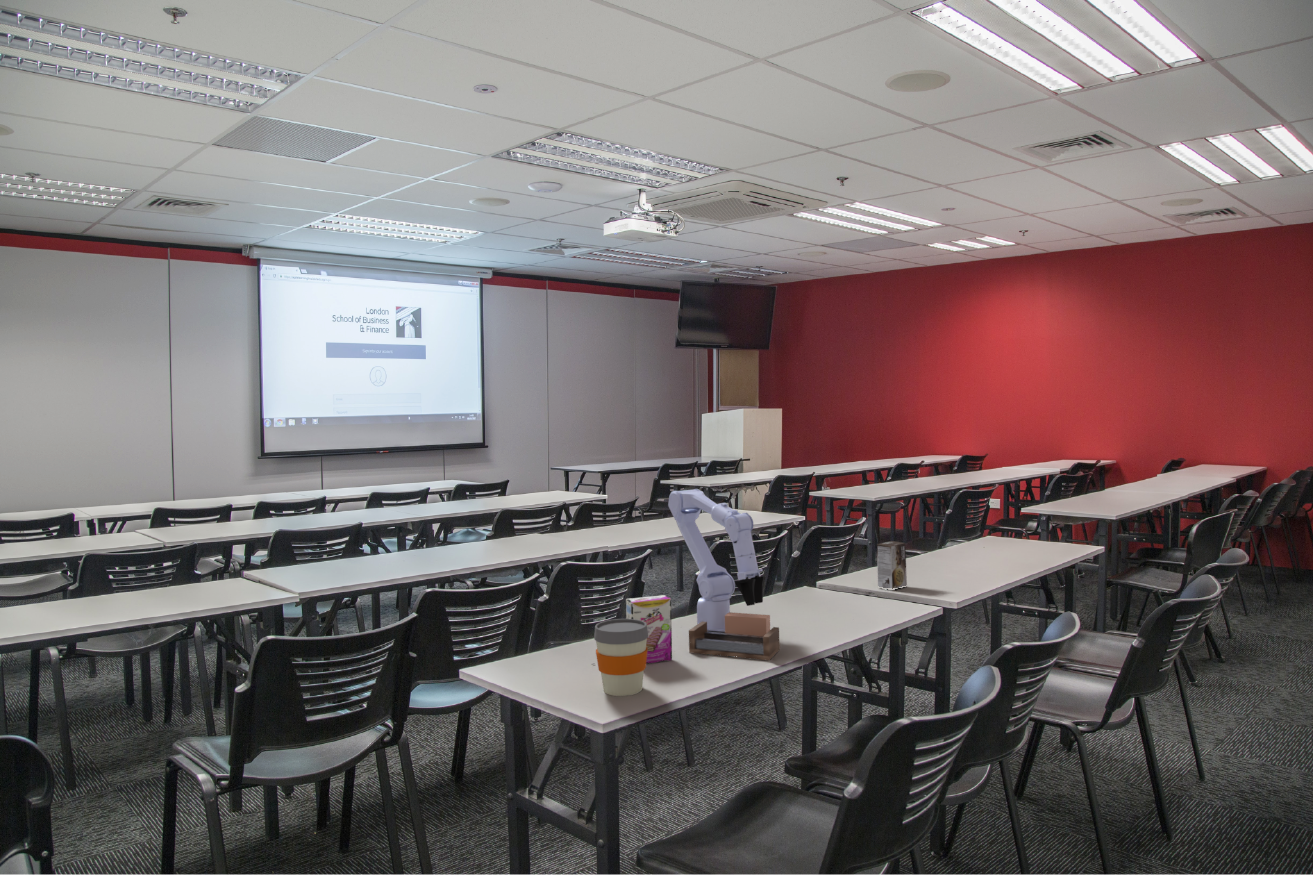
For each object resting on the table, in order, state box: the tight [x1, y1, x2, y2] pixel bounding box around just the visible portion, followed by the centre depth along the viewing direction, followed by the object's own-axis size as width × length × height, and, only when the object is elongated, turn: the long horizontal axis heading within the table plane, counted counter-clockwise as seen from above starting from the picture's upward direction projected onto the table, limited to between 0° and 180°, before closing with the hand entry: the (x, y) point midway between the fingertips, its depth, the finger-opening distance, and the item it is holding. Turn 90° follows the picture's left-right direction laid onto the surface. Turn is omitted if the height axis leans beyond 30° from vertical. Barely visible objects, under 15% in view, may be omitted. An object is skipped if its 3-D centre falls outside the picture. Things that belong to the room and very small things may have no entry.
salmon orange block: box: [724, 611, 771, 636], centre depth 223 cm, size 12×4×7 cm, turn 67°
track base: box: [688, 621, 781, 661], centre depth 212 cm, size 22×10×6 cm, turn 66°
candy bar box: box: [625, 594, 673, 665], centre depth 206 cm, size 11×5×16 cm, turn 111°
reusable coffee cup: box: [593, 618, 648, 697], centre depth 184 cm, size 13×12×15 cm
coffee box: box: [876, 540, 908, 589], centre depth 285 cm, size 9×6×16 cm
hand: (755, 604), depth 223 cm, fingers open, 7 cm apart
